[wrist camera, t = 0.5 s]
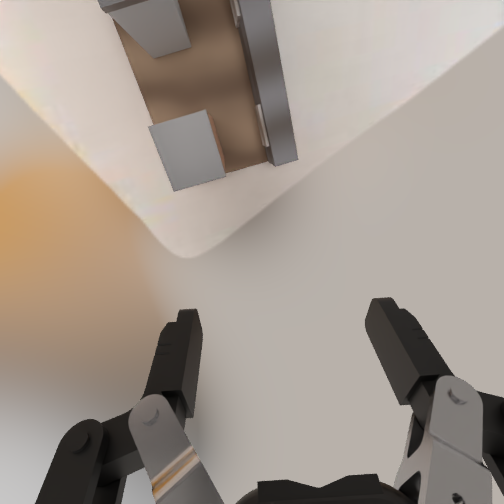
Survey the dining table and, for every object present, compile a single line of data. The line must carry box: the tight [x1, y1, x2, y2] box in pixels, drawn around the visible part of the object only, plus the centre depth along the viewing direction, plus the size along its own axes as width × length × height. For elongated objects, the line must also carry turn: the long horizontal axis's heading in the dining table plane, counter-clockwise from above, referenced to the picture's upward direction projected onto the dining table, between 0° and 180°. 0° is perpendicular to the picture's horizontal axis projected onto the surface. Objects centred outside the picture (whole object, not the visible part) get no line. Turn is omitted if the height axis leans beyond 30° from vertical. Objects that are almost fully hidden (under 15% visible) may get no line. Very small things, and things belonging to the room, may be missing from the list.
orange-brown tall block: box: [148, 110, 226, 192], centre depth 25 cm, size 5×4×13 cm
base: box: [112, 0, 298, 173], centre depth 27 cm, size 19×14×6 cm
